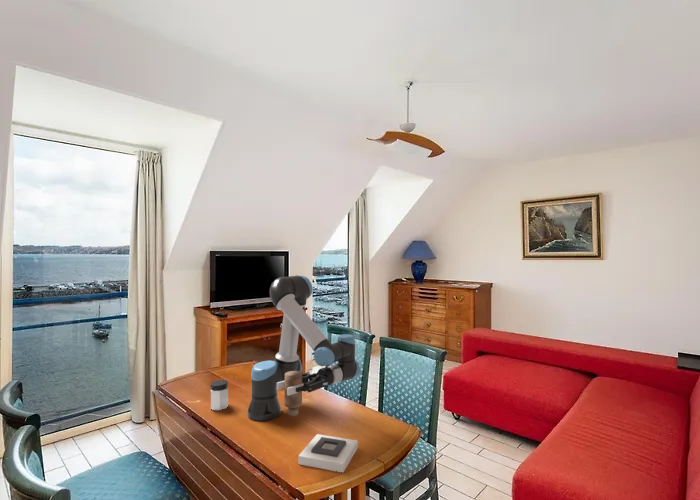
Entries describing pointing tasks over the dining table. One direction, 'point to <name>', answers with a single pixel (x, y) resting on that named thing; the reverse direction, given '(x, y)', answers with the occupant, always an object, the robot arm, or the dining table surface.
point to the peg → (295, 399)
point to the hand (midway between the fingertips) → (282, 388)
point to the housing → (328, 453)
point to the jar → (219, 394)
